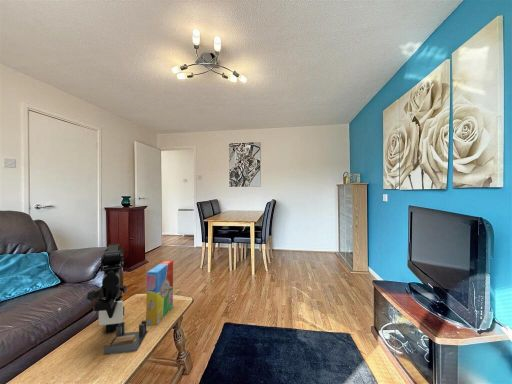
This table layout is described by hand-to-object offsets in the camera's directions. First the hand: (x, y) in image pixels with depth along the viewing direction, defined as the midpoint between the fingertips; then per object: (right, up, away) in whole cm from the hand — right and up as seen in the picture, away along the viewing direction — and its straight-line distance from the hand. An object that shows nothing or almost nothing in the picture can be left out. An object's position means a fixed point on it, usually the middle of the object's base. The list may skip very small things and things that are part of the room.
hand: (111, 316), depth 98 cm
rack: (+6, -12, +2) cm, 14 cm away
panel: (0, -3, 0) cm, 3 cm away
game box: (+11, -13, +23) cm, 29 cm away
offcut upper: (+7, -9, -3) cm, 12 cm away
